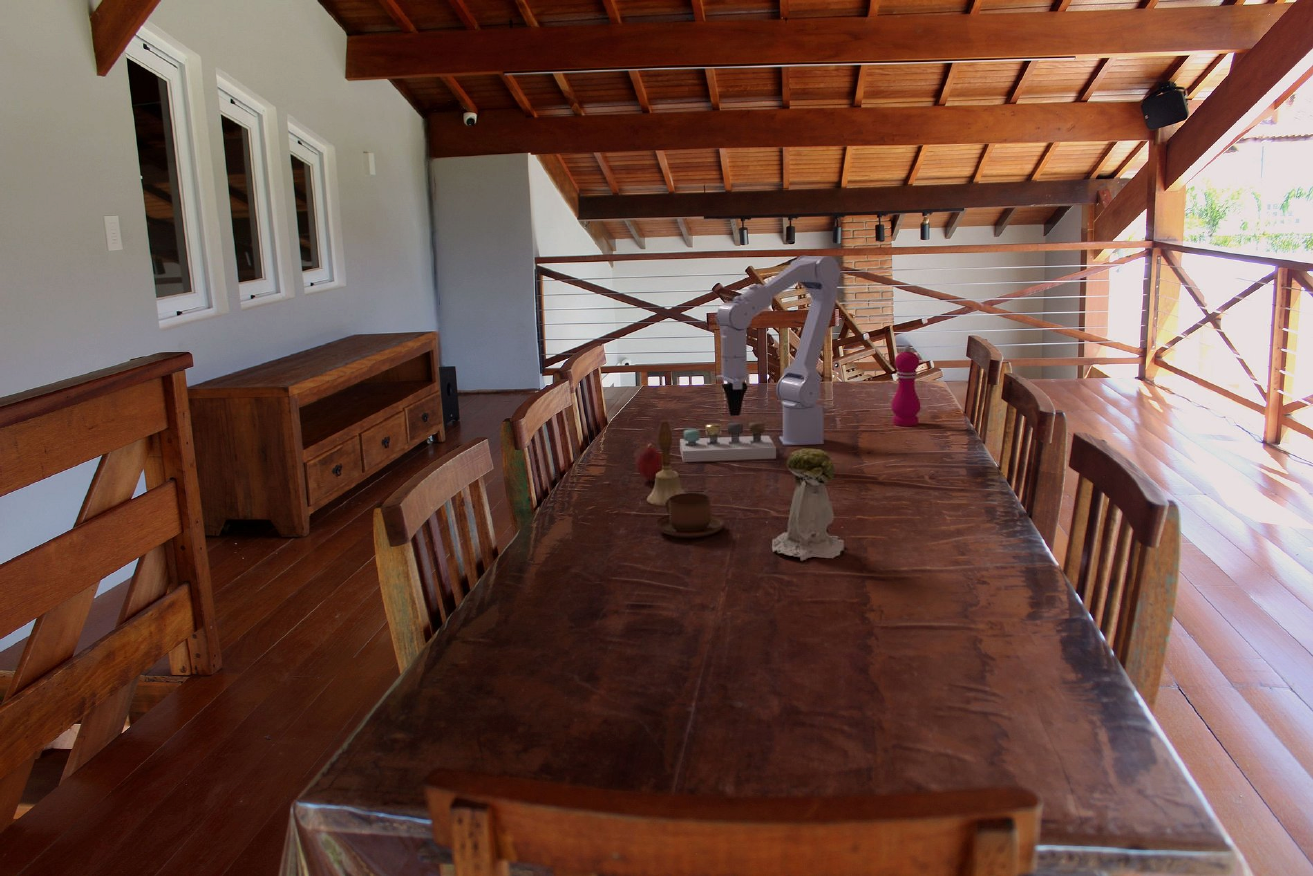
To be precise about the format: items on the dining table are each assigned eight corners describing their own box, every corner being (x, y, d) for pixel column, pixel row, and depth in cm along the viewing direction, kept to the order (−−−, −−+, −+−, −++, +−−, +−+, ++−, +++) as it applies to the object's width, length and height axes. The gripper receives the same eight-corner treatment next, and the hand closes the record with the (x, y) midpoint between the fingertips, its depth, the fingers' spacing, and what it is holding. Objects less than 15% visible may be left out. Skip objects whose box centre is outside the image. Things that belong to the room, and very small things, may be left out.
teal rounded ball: (699, 446, 233) (698, 429, 232) (700, 450, 229) (700, 432, 228) (683, 447, 232) (683, 429, 232) (684, 451, 229) (684, 433, 228)
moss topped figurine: (763, 541, 171) (762, 444, 167) (829, 535, 173) (830, 439, 169) (783, 563, 160) (782, 460, 156) (854, 556, 162) (855, 454, 158)
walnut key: (763, 439, 233) (763, 421, 232) (765, 442, 229) (765, 424, 228) (748, 439, 232) (748, 422, 232) (750, 443, 229) (749, 425, 228)
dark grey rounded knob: (742, 439, 232) (742, 422, 232) (744, 443, 229) (743, 425, 228) (726, 440, 232) (726, 422, 231) (728, 444, 229) (728, 426, 228)
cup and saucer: (644, 538, 175) (643, 504, 174) (675, 518, 185) (674, 486, 184) (706, 546, 170) (706, 512, 168) (735, 526, 180) (734, 493, 179)
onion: (661, 485, 207) (660, 447, 205) (634, 484, 208) (633, 447, 206) (667, 477, 213) (665, 441, 211) (640, 477, 214) (639, 440, 212)
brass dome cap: (720, 440, 232) (720, 423, 231) (722, 444, 229) (721, 426, 228) (705, 441, 232) (704, 423, 231) (706, 445, 229) (706, 427, 228)
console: (768, 445, 237) (768, 435, 237) (776, 458, 226) (775, 447, 225) (680, 449, 237) (679, 439, 236) (682, 462, 225) (682, 451, 225)
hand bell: (672, 508, 191) (670, 426, 188) (638, 502, 196) (635, 422, 192) (697, 497, 198) (695, 418, 194) (663, 491, 203) (661, 414, 199)
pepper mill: (917, 420, 259) (919, 343, 254) (922, 426, 252) (924, 347, 247) (889, 420, 259) (890, 344, 255) (892, 427, 252) (894, 348, 248)
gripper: (713, 352, 233) (714, 409, 236) (719, 361, 219) (720, 422, 222) (743, 351, 233) (744, 408, 236) (751, 360, 219) (752, 421, 222)
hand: (734, 415), depth 229 cm, fingers closed
